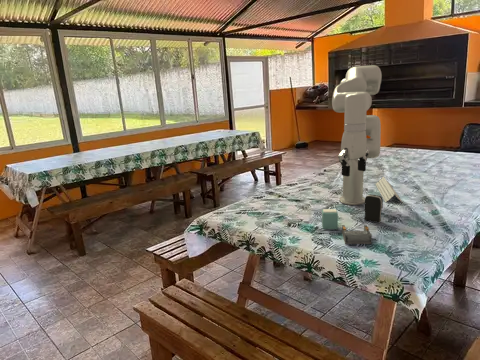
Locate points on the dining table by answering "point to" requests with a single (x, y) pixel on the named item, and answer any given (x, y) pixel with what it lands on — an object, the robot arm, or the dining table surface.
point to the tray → (357, 236)
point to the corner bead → (386, 189)
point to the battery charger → (373, 208)
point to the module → (329, 219)
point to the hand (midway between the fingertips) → (353, 173)
